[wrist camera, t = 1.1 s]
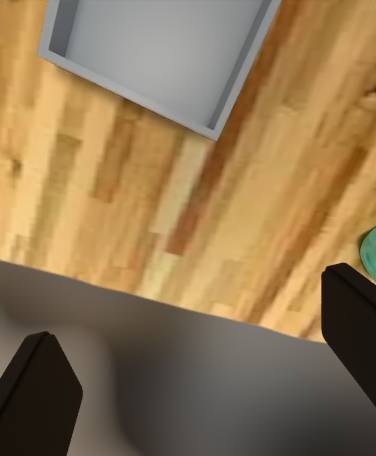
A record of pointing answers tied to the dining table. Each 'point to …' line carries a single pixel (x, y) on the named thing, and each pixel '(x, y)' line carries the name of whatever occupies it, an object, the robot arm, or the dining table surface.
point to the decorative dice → (369, 253)
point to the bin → (161, 52)
